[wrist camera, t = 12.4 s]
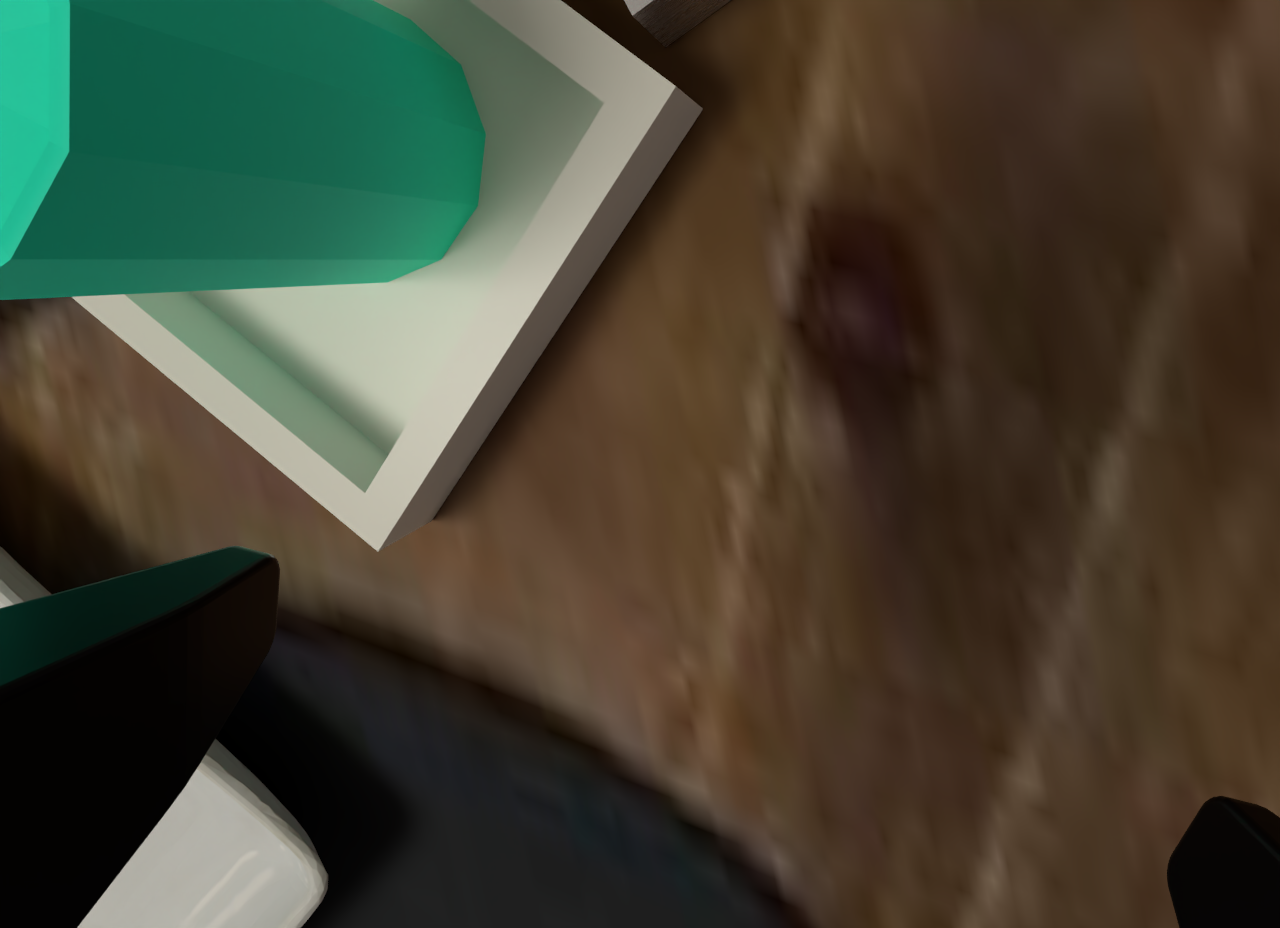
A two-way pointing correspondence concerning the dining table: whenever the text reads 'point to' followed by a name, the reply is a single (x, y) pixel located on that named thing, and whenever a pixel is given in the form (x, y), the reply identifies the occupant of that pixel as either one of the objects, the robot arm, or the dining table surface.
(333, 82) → the candle
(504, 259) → the tray
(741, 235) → the dining table surface
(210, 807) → the square plate
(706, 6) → the steel collar
